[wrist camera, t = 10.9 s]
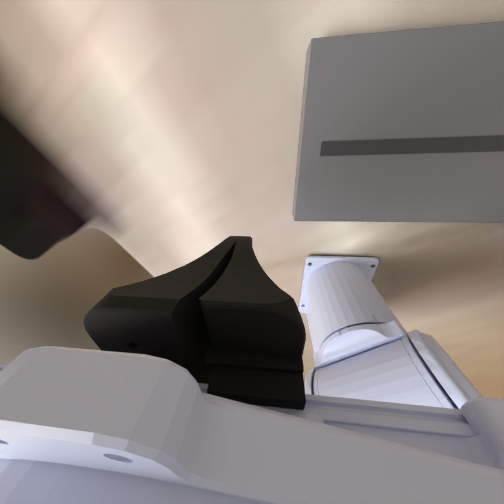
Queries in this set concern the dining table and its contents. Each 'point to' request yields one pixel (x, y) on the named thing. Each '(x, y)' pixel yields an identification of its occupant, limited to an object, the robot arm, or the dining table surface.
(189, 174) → the dining table surface
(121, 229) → the dining table surface
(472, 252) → the dining table surface
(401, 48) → the console
